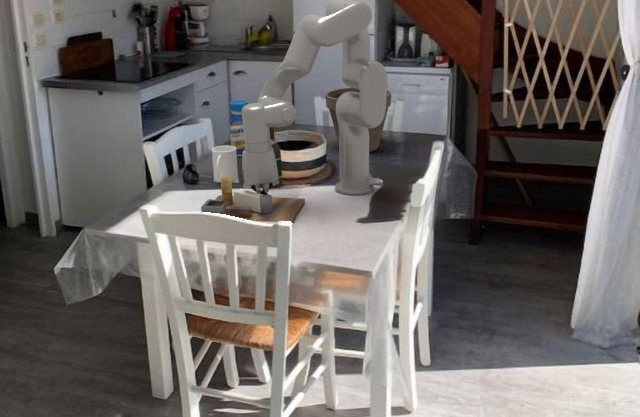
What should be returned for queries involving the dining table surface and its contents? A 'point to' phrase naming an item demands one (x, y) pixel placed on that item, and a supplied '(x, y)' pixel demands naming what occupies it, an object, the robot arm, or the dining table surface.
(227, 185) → the pin
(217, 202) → the collar
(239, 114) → the beverage bottle
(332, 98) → the plant pot
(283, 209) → the board
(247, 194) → the handle
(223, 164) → the mug
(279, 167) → the beer bottle
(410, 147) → the dining table surface
